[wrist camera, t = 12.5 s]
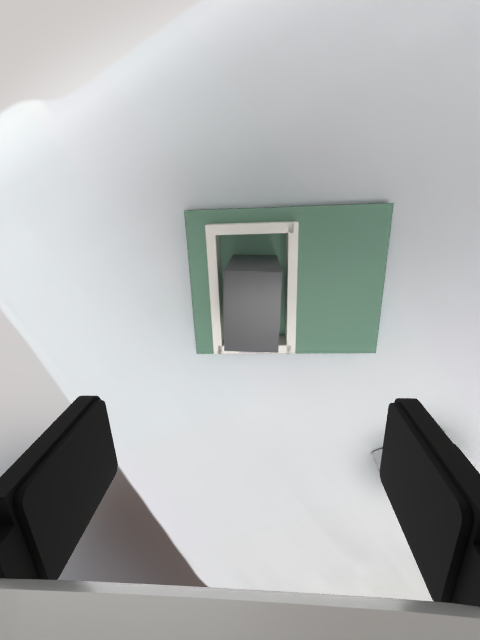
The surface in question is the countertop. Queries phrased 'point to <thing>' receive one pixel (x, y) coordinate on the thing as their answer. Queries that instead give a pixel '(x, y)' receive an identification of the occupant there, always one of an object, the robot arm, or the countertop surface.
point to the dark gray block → (252, 303)
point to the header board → (296, 272)
